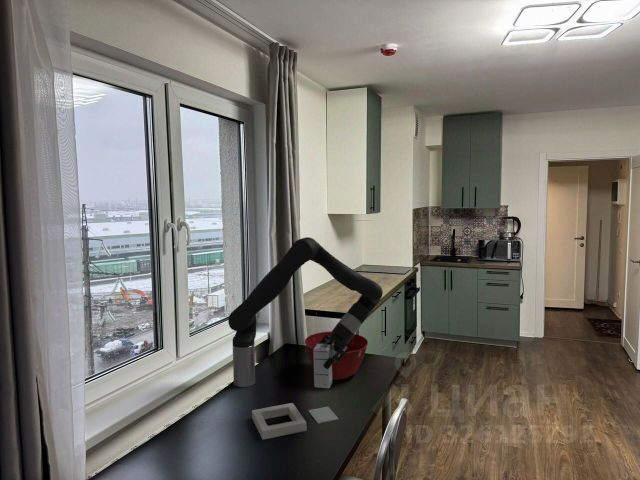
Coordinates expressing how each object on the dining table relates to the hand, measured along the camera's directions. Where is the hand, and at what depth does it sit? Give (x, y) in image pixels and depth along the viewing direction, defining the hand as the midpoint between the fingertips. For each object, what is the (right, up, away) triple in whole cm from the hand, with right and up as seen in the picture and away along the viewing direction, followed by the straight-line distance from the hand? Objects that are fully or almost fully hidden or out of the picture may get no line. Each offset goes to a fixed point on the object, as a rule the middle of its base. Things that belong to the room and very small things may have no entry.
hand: (319, 363), depth 163 cm
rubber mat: (+1, -20, +3) cm, 20 cm away
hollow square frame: (-15, -20, -3) cm, 25 cm away
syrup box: (+1, -8, +2) cm, 8 cm away
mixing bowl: (+8, -16, +41) cm, 44 cm away
